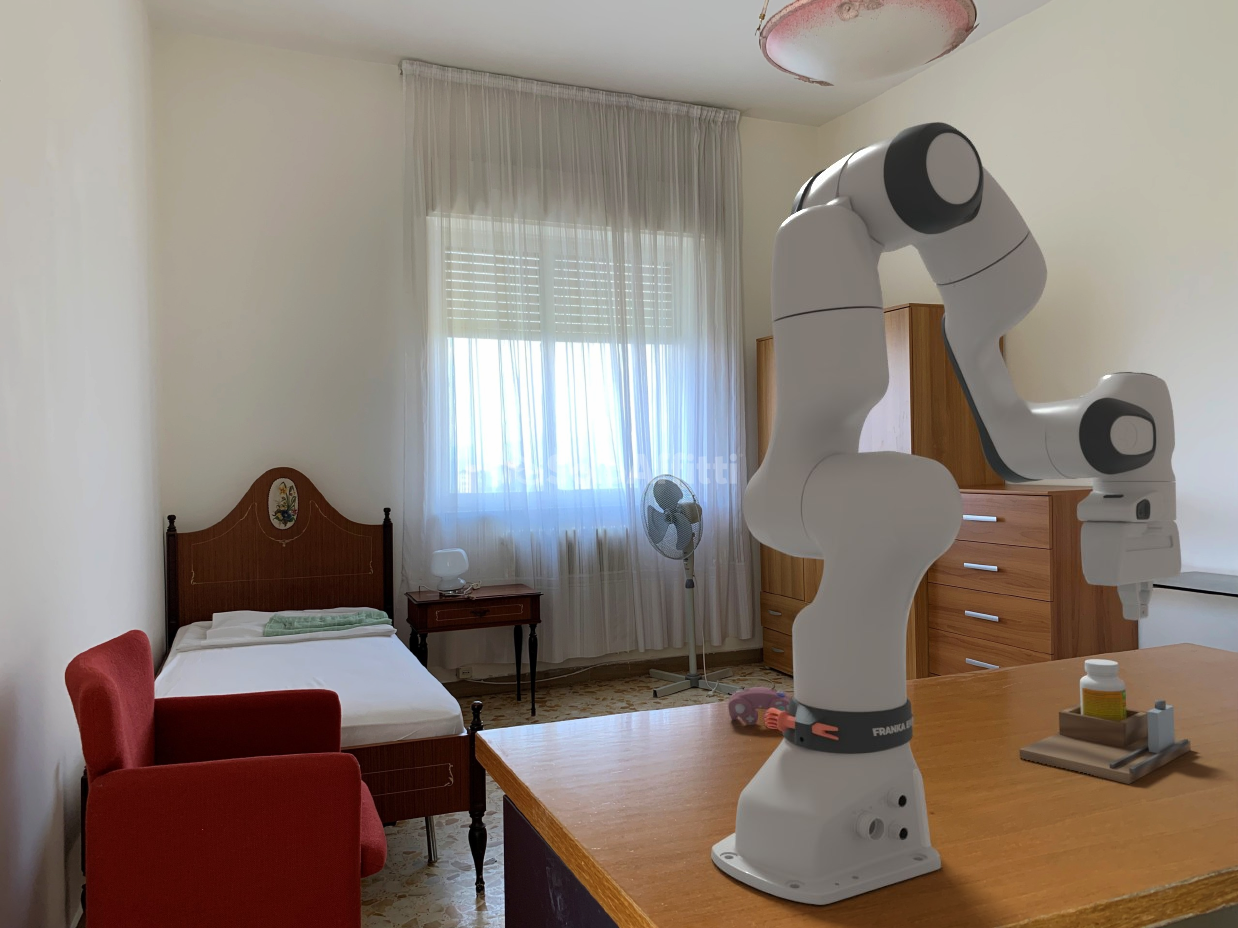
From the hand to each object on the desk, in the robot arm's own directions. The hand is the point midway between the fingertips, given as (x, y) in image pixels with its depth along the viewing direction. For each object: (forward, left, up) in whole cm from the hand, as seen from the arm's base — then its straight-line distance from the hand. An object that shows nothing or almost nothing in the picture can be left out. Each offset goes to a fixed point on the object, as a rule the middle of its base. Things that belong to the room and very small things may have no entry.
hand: (1135, 618), depth 108 cm
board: (+3, +5, -18) cm, 19 cm away
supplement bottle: (+7, +7, -17) cm, 20 cm away
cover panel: (+6, 0, -17) cm, 18 cm away
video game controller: (-18, +46, -19) cm, 52 cm away
